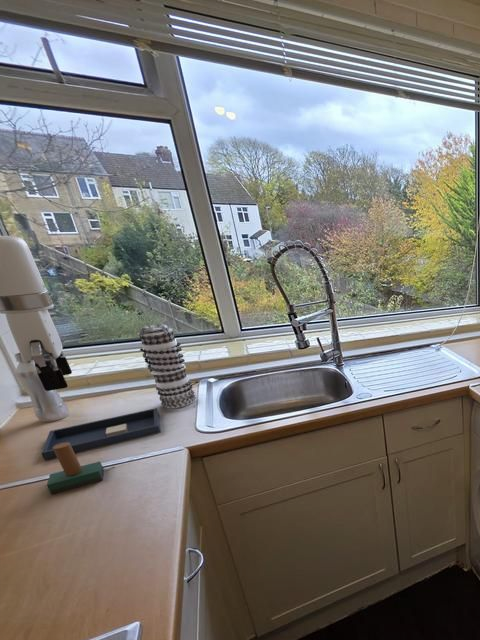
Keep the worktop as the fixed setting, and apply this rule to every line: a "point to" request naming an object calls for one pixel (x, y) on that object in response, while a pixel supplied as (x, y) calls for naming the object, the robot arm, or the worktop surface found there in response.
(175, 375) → the black white patterned cylinder
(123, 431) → the cream square tile
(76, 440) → the tray
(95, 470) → the brush
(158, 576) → the worktop surface
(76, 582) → the worktop surface
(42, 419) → the plastic bottle
